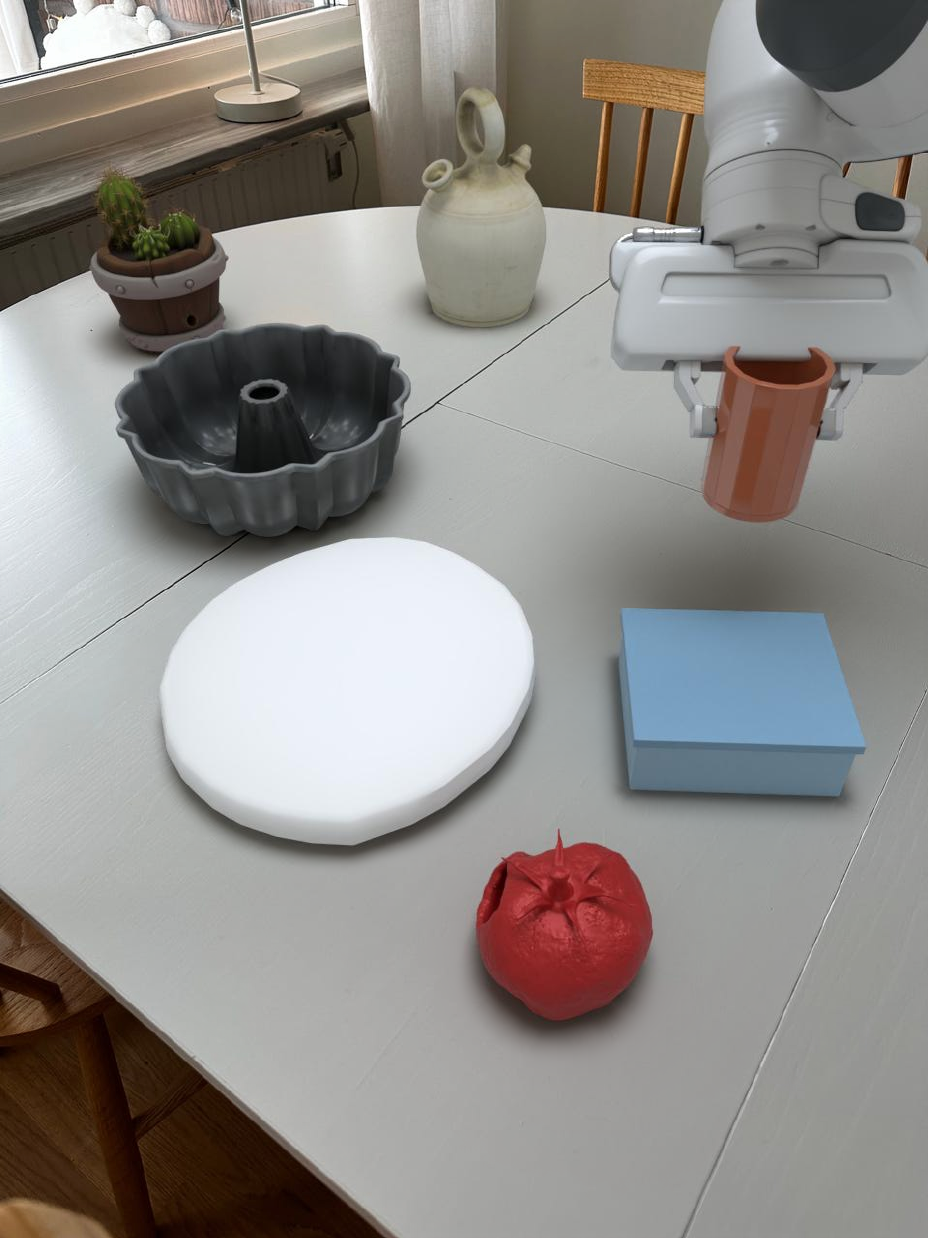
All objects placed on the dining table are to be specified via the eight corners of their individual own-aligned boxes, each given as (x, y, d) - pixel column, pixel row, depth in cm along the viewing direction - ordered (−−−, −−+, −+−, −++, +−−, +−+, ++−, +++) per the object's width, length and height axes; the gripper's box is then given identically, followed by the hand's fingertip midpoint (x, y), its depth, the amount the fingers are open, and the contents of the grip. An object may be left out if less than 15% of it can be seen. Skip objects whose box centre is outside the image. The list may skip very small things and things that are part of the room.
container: (805, 670, 75) (823, 612, 71) (843, 804, 66) (867, 747, 62) (613, 665, 76) (621, 607, 72) (624, 797, 66) (634, 739, 62)
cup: (789, 467, 70) (822, 337, 63) (807, 524, 65) (846, 389, 58) (695, 465, 70) (718, 335, 63) (707, 521, 65) (733, 387, 58)
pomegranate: (679, 971, 57) (703, 884, 51) (545, 1073, 53) (553, 992, 47) (570, 854, 63) (579, 763, 57) (442, 937, 59) (437, 849, 53)
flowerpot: (264, 324, 119) (236, 150, 105) (183, 381, 109) (140, 197, 96) (171, 301, 124) (132, 132, 111) (85, 353, 114) (31, 175, 101)
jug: (434, 344, 115) (426, 112, 98) (408, 289, 126) (397, 72, 109) (558, 328, 117) (571, 100, 100) (523, 276, 128) (529, 62, 111)
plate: (363, 890, 56) (67, 697, 68) (379, 939, 61) (100, 751, 72) (606, 588, 70) (328, 472, 82) (604, 647, 75) (341, 529, 87)
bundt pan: (420, 560, 85) (415, 463, 79) (115, 577, 84) (83, 480, 78) (411, 404, 105) (406, 316, 98) (163, 416, 104) (141, 328, 97)
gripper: (615, 204, 61) (609, 422, 61) (948, 207, 60) (945, 429, 60) (605, 246, 68) (600, 444, 67) (907, 249, 67) (904, 450, 66)
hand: (765, 437), depth 63 cm, fingers closed on cup, 6 cm apart
